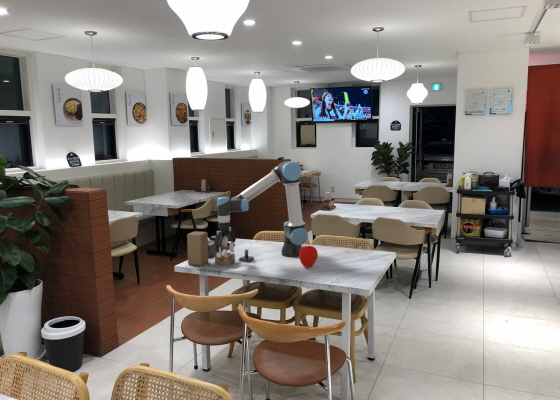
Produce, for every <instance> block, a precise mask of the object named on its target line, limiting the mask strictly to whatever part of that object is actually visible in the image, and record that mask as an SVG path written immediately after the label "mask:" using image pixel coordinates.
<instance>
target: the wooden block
mask: <svg viewBox="0 0 560 400" xmlns="http://www.w3.org/2000/svg"><path fill="white" fill-rule="evenodd" d="M208 235H209V234H208V232H207V231H197V230H195V231H191V232H189V233H187V235H186V238H187V240H186V243H187V247H186V248H187V264H188V265H189V266H190V265H191V266H196V267H197V266H199V267H202V266H204V265H205V264H207V263H209V240H208V239H209V237H208Z"/></svg>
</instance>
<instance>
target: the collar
mask: <svg viewBox="0 0 560 400" xmlns="http://www.w3.org/2000/svg"><path fill="white" fill-rule="evenodd" d="M222 252H223V251H221V258H220V257H217V253H216V254H214V263H215V264H217V265H223V266H228V265H230V264H233V263H235V261H236V253H234V252H230V251H229V252H228V251H227V255H226V256H225V255H222Z"/></svg>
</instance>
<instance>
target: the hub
mask: <svg viewBox="0 0 560 400" xmlns="http://www.w3.org/2000/svg"><path fill="white" fill-rule="evenodd" d="M221 252H222V255H225V256H226V255H227V252H228V251H227V249H223V250H222V251H221ZM239 264H241V261H236V260H235V263H233V264H230V265H228V266H223V265H217V264H215V262H213V263H210V264H209V266H211V267H216V268H221V267H223V268H222V269H227V268H228V269H230V268H232V267H234V266H237V265H239Z"/></svg>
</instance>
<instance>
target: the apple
mask: <svg viewBox="0 0 560 400" xmlns="http://www.w3.org/2000/svg"><path fill="white" fill-rule="evenodd" d="M318 255H319V254H318V249H317V248H316V247H315V246H314V245H313V246H312V245H305V246H302V248H301V249H300V252H299V262H300V264H301V265H302V266H303V267H304V268H311V267H313V266H314V265H315V263H317V260H318Z"/></svg>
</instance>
